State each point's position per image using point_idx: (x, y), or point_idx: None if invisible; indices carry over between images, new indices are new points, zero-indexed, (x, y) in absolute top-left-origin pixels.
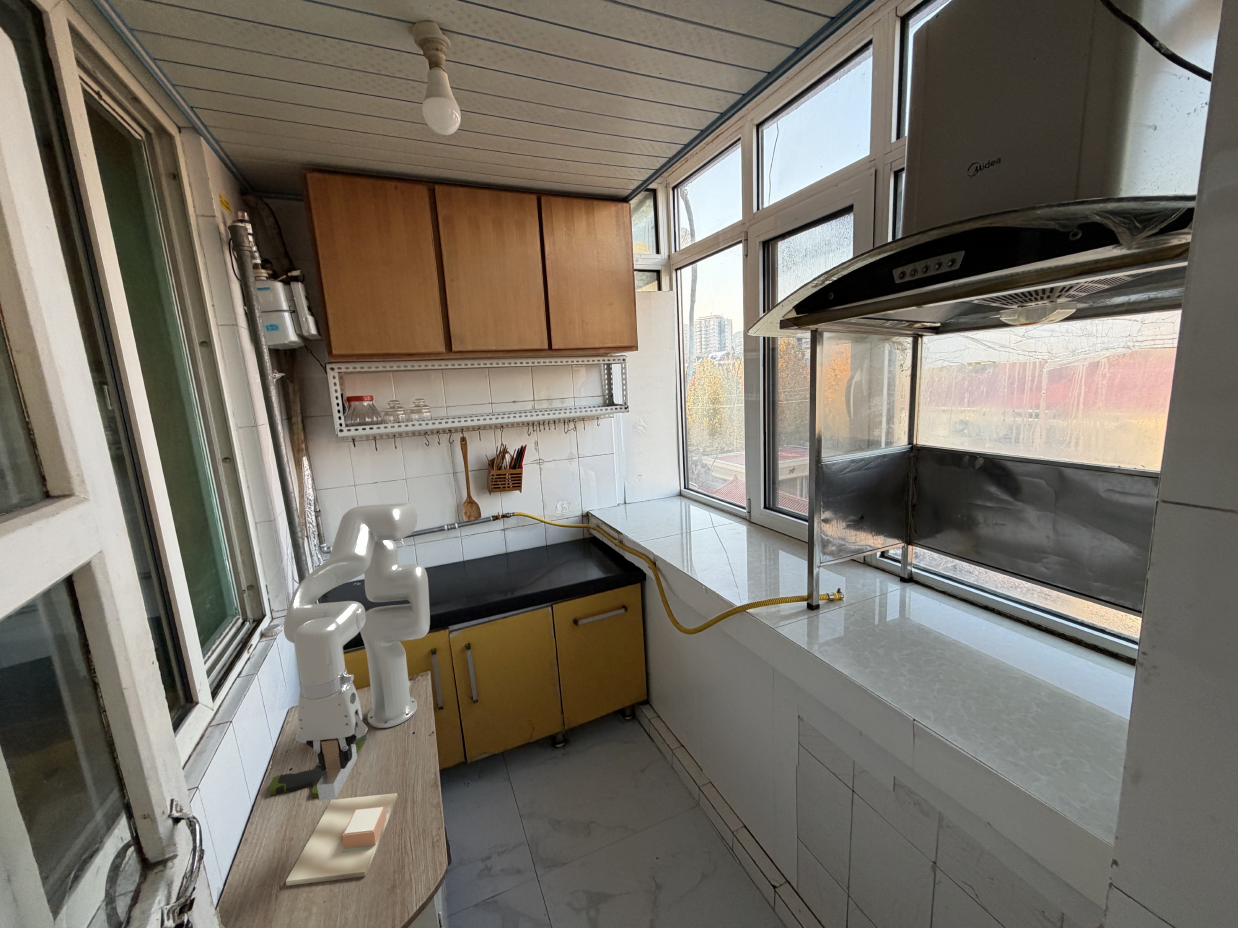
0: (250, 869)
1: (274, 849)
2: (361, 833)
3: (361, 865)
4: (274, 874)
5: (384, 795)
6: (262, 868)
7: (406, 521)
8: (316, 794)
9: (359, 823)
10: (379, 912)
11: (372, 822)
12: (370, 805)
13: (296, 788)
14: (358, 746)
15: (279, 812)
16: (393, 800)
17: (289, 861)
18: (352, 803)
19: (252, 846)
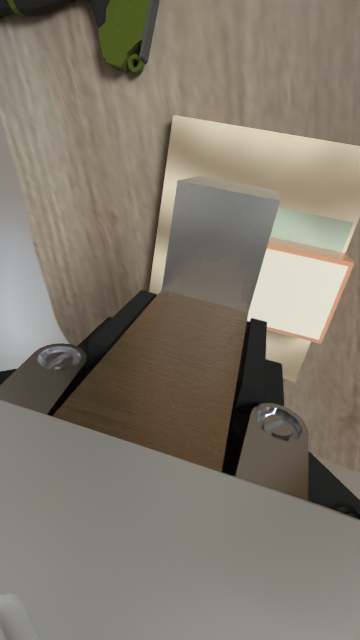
0: (64, 271)
1: (87, 236)
2: (287, 334)
3: (286, 365)
4: (114, 301)
5: (340, 149)
6: (85, 278)
7: None
8: (120, 67)
9: (279, 304)
10: (324, 450)
11: (316, 313)
12: (295, 181)
13: (49, 10)
14: None
15: (46, 108)
16: None
17: (131, 280)
18: (239, 153)
19: (38, 210)
